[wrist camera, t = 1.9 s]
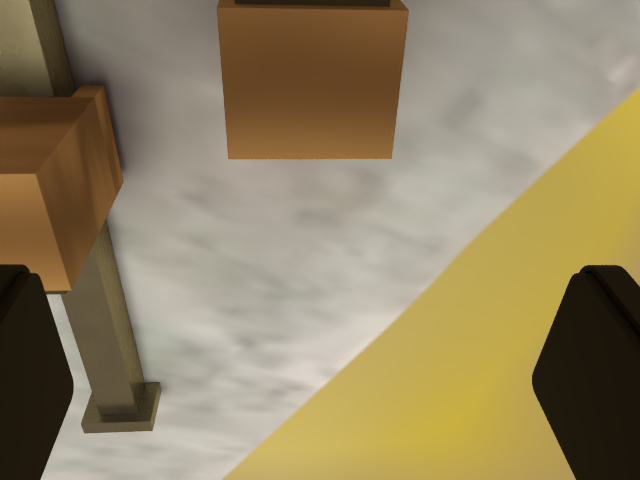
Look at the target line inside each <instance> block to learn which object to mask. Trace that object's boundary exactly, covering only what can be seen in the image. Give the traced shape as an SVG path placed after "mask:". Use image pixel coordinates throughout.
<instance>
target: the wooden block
mask: <svg viewBox="0 0 640 480" xmlns="http://www.w3.org/2000/svg"><path fill="white" fill-rule="evenodd" d="M122 184H123V177H122V173H121V168H120V163H119V158H118V153H117V148H116V143H115V138H114V134H113V129H112V124H111V119H110V114H109V109H108V104H107V99H106V95H105V90H104V86H99V85H81V86H80V87H79V88H78V90H77V91H76V92H75V93H74V94H73V95H72V96H71V97H0V264H22V265H26V266H27V267H28V268H29V270H30V273H37V274H38V275H39V276H40V278H41V280H42V283H43V287H44V290H45V293H46V294H66V293H67V291H68V290H72V288H73V286H74V284H75V282H76V280H77V278H78V276H79V273H80V271H81V269H82V267H83V265H84V263H85V261H86V259H87V257H88V255H89V253H90V251H91V248H92V246H93V244H94V242H95V240H96V238H97V236H98V234H99V232H100V230H101V228H102V226H103V223H104V221H105V219H106V217H107V215H108V213H109V211H110V209H111V207H112V205H113V203H114V200H115V198H116V196H117V194H118V192H119V190H120V188H121V186H122Z"/></svg>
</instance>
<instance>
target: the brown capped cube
mask: <svg viewBox="0 0 640 480" xmlns="http://www.w3.org/2000/svg"><path fill="white" fill-rule="evenodd" d="M408 12H409V10H408V9H407V8H406V7H405V6H404V5H403V4H402V2H401V1H400V0H220V1H219V4H218V6H217V15H218V28H219V41H220V54H221V67H222V81H223V94H224V107H225V120H226V133H227V146H228V159H392V150H393V142H394V133H395V125H396V116H397V107H398V99H399V90H400V81H401V73H402V64H403V56H404V47H405V38H406V30H407V21H408Z"/></svg>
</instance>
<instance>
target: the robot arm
mask: <svg viewBox="0 0 640 480" xmlns="http://www.w3.org/2000/svg"><path fill="white" fill-rule="evenodd" d="M532 385H533V390H534V392H535V394H536V397H537V399H538V401H539V403H540V405H541V407H542V409H543V411H544V413H545V415H546V417H547V420H548V422H549V424H550V426H551V428H552V430H553V432H554V434H555V436H556V438H557V440H558V443H559V445H560V447H561V449H562V451H563V453H564V455H565V457H566V459H567V462H568V464H569V465H570V468H571V470H572V472H573V474H574V476H575V478H576V480H640V287H639V285H638V284H637V283H636V282H635V281H634V279H633V278H632V277H631V276H630V275H629V274H628V272H627V271H626V270H625V269H623V268H622V267H621V266H617V265H588V266H585V267H583V268H582V269H581V270H580V272H579V273H576V274H574V275H573V276H572V277H571V279H570V281H569V284H568V286H567V289H566V291H565V294H564V296H563V299H562V301H561V304H560V306H559V309H558V311H557V314H556V316H555V319H554V321H553V324H552V326H551V329H550V332H549V334H548V336H547V339H546V342H545V344H544V346H543V349H542V351H541V354H540V356H539V359H538V361H537V364H536V366H535V369H534V371H533V375H532ZM73 388H74V385H73V378H72V375H71V372H70V368H69V365H68V362H67V359H66V356H65V353H64V350H63V346H62V343H61V340H60V337H59V334H58V331H57V327H56V324H55V321H54V318H53V315H52V312H51V309H50V305H49V302H48V299H47V296H46V293H45V290H44V287H43V283H42V280H41V278H40V276H39V275H38V274H37V273H30V270H29V268H28V267H27V266H26V265H22V264H0V480H40V479H41V477H42V474H43V472H44V469H45V466H46V464H47V461H48V459H49V456H50V454H51V451H52V448H53V446H54V443H55V441H56V438H57V436H58V433H59V431H60V428H61V425H62V423H63V420H64V418H65V415H66V413H67V410H68V408H69V405H70V402H71V399H72V396H73Z"/></svg>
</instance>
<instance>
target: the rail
mask: <svg viewBox="0 0 640 480" xmlns="http://www.w3.org/2000/svg"><path fill="white" fill-rule="evenodd" d="M74 93H75V88H74V84H73V80H72V75H71V71H70V67H69V63H68V58H67V54H66V50H65V46H64V42H63V37H62V33H61V29H60V25H59V21H58V16H57V12H56V8H55V4H54V0H0V97H71V96H72V95H73V94H74ZM61 297H62V300H63V303H64V306H65V309H66V312H67V315H68V318H69V322H70V325H71V328H72V331H73V334H74V337H75V340H76V343H77V346H78V349H79V352H80V355H81V358H82V361H83V365H84V368H85V371H86V374H87V377H88V380H89V383H90V386H91V389H92V393H91V396H90V399H89V402H88V405H87V408H86V410H85V413H84V416H83V419H82V422H81V426H82V428H83V431H84V433H106V432H133V431H153V427H154V422H155V417H156V413H157V408H158V404H159V399H160V395H161V389H160V384H159V383H144V379H143V374H142V370H141V366H140V362H139V358H138V353H137V349H136V345H135V341H134V337H133V332H132V328H131V324H130V320H129V315H128V311H127V307H126V303H125V299H124V294H123V290H122V286H121V282H120V278H119V273H118V269H117V265H116V261H115V256H114V252H113V248H112V244H111V240H110V235H109V231H108V227H107V223H106V219H105V221H104V223H103V226H102V228H101V230H100V232H99V234H98V236H97V238H96V240H95V242H94V244H93V246H92V248H91V251H90V253H89V255H88V257H87V259H86V261H85V263H84V265H83V267H82V269H81V271H80V273H79V276H78V278H77V280H76V282H75V284H74V286H73V288H72V290H68V291H67V293H66V294H61Z"/></svg>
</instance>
